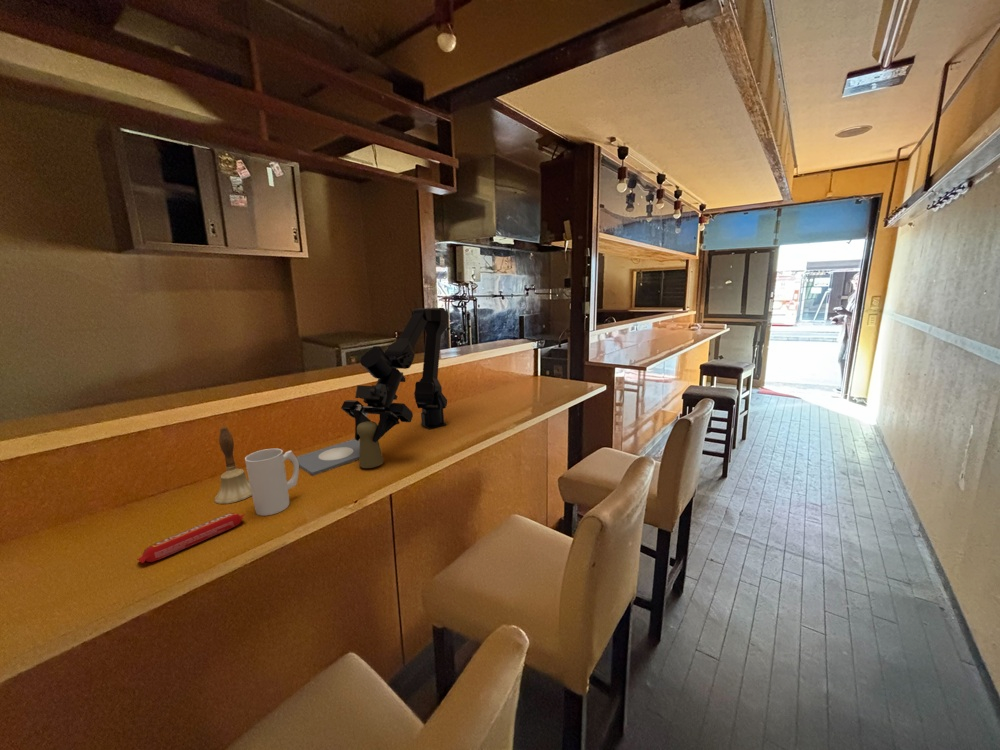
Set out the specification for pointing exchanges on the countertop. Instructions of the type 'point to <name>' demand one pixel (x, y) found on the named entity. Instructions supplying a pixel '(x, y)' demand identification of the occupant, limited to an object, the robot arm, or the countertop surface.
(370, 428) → the olive rounded peg
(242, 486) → the hand bell
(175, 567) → the countertop surface
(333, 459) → the board
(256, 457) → the mug
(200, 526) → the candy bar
